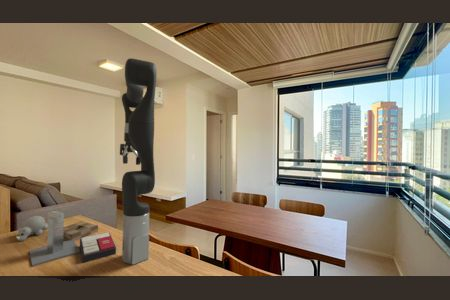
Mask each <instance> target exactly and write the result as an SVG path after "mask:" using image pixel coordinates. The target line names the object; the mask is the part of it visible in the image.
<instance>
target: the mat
mask: <svg viewBox="0 0 450 300" xmlns="http://www.w3.org/2000/svg"><path fill="white" fill-rule="evenodd" d="M28 253H29V257H30V262H31V267H32V268H33V267H35V266H39V265H43V264H45V263H48V262H53V261H56V260H59V259H63V258H68V257H70V256H73V255H77V254H81V251H80V247H78V245H77V243H76V241H74V240H65V241H64V240H63V250H60V251H58V252H55V253H50V252H47V245H45V246H44V245H43V246H40V247H36V248H33V249H29V252H28Z"/></svg>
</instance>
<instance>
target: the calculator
mask: <svg viewBox="0 0 450 300" xmlns="http://www.w3.org/2000/svg"><path fill="white" fill-rule="evenodd" d="M79 249H80V251H81V253H80V256H81V262H82V263H84V264H85V263H87V262H91V261H92V262H93V261H95V260H98V259H103V258H107V257H110V256H113V255H117V247H116V244H115V242H114V240H113V238H112V235H111V233H110V232H106V233H100V234H96V235H91V236H90V235H89V236H85V237H83V238H80V239H79Z"/></svg>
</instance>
